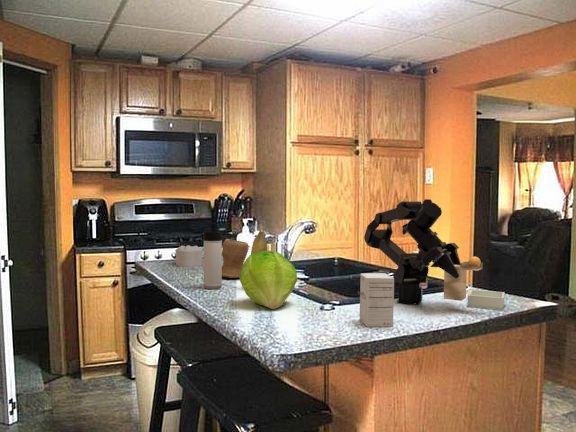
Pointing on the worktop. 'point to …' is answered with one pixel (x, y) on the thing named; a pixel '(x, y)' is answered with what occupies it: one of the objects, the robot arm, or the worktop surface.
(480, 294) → the tray
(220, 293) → the worktop surface
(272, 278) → the lettuce
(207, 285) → the travel mug
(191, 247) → the lumpy-topped squat cylinder
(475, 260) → the ball
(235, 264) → the stone cup
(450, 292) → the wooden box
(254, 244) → the vegetable
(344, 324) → the worktop surface
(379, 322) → the supplement box
